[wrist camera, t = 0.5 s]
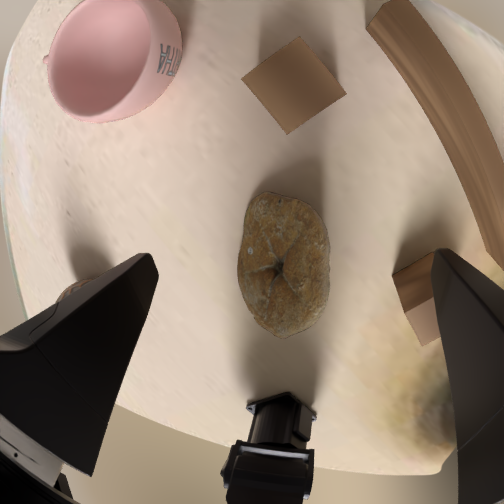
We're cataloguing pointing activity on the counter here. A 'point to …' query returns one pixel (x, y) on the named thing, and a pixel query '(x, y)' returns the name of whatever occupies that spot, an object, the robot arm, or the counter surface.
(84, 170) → the counter surface
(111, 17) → the mug
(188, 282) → the counter surface
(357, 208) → the counter surface
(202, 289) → the counter surface
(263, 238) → the fossil
